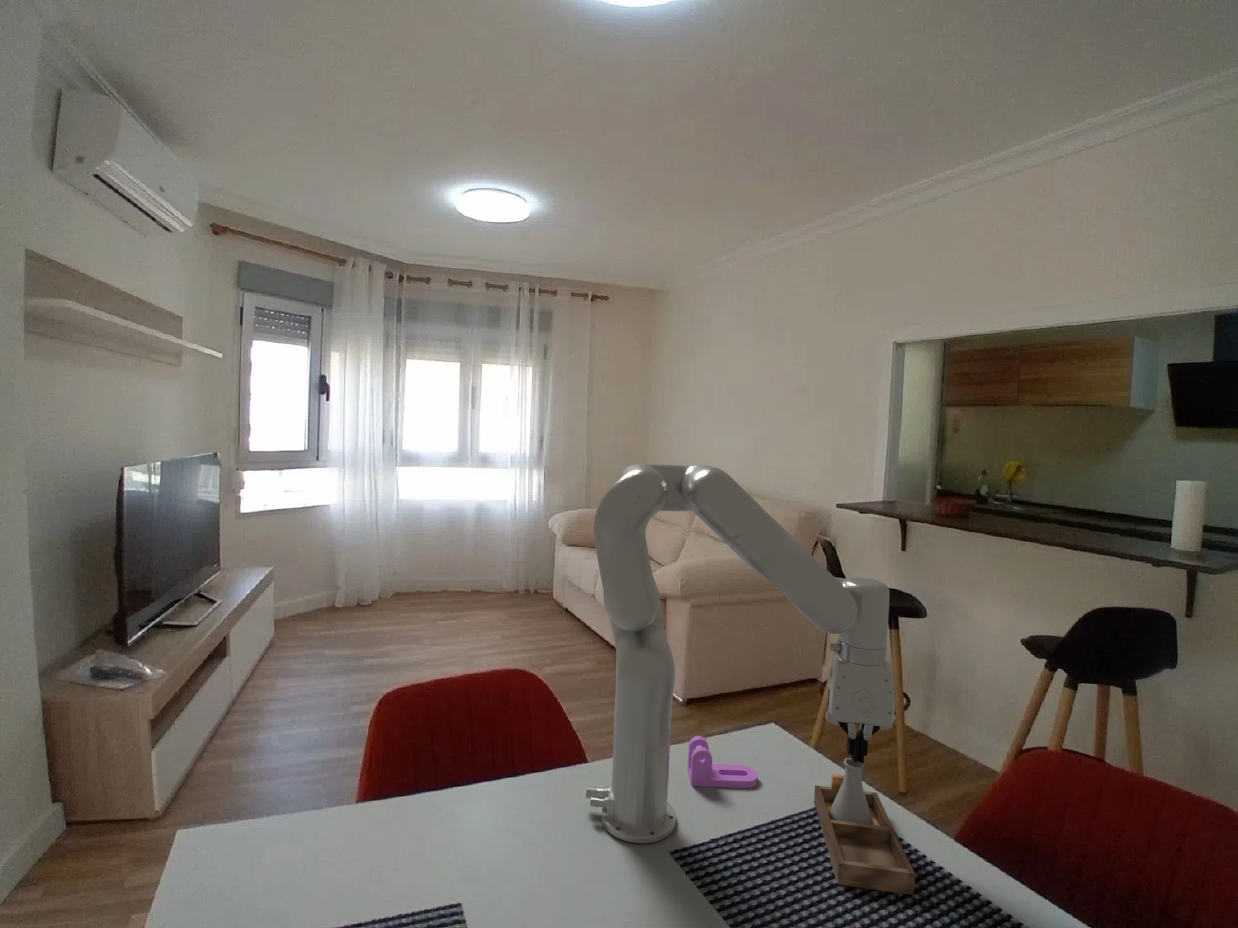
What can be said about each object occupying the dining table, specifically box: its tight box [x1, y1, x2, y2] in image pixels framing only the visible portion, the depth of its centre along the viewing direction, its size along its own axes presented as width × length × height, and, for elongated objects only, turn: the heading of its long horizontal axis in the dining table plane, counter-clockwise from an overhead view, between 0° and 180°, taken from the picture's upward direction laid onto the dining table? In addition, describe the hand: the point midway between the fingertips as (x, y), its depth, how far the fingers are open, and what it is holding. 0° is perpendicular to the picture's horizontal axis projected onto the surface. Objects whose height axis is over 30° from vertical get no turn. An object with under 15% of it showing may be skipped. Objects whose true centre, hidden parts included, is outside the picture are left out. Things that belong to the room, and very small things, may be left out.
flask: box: [829, 757, 873, 825], centre depth 103 cm, size 7×7×10 cm
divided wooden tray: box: [813, 773, 916, 896], centre depth 98 cm, size 11×20×6 cm, turn 171°
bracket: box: [687, 735, 758, 789], centre depth 116 cm, size 13×6×7 cm, turn 91°
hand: (856, 758), depth 103 cm, fingers closed
